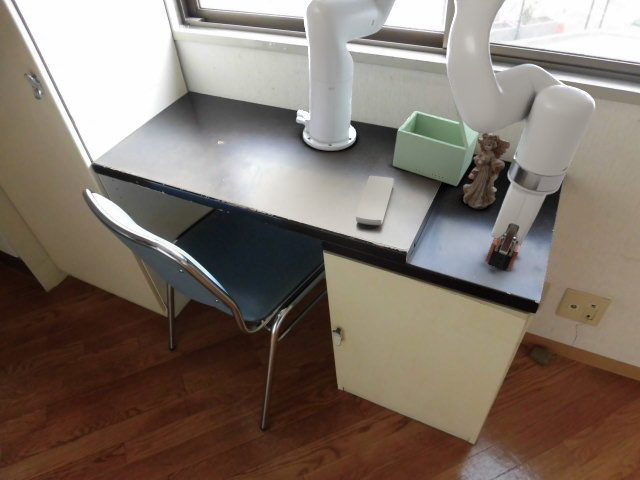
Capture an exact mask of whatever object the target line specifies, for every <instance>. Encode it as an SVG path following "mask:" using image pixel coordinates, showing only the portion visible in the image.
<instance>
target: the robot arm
mask: <svg viewBox="0 0 640 480" xmlns="http://www.w3.org/2000/svg"><path fill="white" fill-rule="evenodd" d="M507 1H508V0H453V2H454V3H453V4H454V15H453V19H452V22H451V25H450V29H449V33H448V38H447V39H448V40H447V46H446V56H445V57H446V58H445V69H446V74H447V75H446V76H447V80H448V83H449V87H450V91H451V94H453V95H452V99H453V98H454V99H453V102H454V101H455V104H456V107H457V109H458V112H459V114H460V116H461V118H462V119H463V121H464V123H465V124H466V125H467V126H468V127H469V128H470V129H472V130H473V131H476V132H478V133H479V134H483V133H492V134H493V133H495V132H498V131H500V130H503V129H504V128H507V127H510V126H511V125H513V124H516V123H521V122H523V123H524V122H525V124H524V127H523V129H522V133H521V135H520V138H519V141H518V143H517V146H516V149H515V151H514V152H515V153H514V155H513V157H512V160H511V163H510V166H509V168H508V171H507V179H508V180H509V182H510V184H509V186H508V189H507V191H506V193H505V196H504V199H503V201H502V204H501V207H500V209H499V212H498V215H497V217H496V221H495V223H494V225H493V228H492V230H491V234H490V235H491V237H492V238H493V239H494V238H497V239H498V238H499V237H500V238H499V240H498V243H497V245H496V246H494V249H493V251H492V254H491V256H490V259H489V262H487V264H488V266H491V267H493V268H496V269H498V270H501V271H503V272H506V271H507V268H508V266H509V264H510V261H511V259H512V257H513V254H514V253H513V251H514V248H515V246H516V244H517V246H518V245H521V244H523V242H524V240H525V238H526V237H527V235H528V233H529V231H530V230H531V227H532V226H533V224H534V222H535V220H536V218H537V216H538V214H539V212H540V210H541V208H542V205H543V203H544V202H545V199H546V197H547V196H549V195H552V194H554V193H556V192H558V191H559V189H560V187H561V185H562V184H563V181H564V178H565V177H566V174H567V172H568V170H569V168H570V166H571V164H572V162H573V160H574V157H575V155H576V153H577V151H578V149H579V147H580V145H581V142H582V140H583V138H584V136H585V134H586V132H587V130H588V127H589V126H590V123H591V121H592V119H593V117H594V114H595V111H596V102H595V100H594V98H593V97H592V96H591V95H590V94H589V93H588V92H586V91H584V90H582V89H580V88H577V87H574V86H570V85H566V84H565V83H563V82H562V81H560V80H559V79H558V78H556V77H554V75H552V74H551V73H550V72H548V71H547V70H545V69H544V68H542V67H540V66H538V65H536V64H532V63H522V64H519V65H516V66H513V67H510V68H508V69H504V70H502V71H498V72H495V70H494V66H493V63H492V58H491V48H490V46H491V45H490V43H491V36H492V35H491V33H492V30H493V26H494V23H495V21H496V18H497V16H498V15H499V12H501V9H502V8H503V7H504V5H505V4H506V3H507ZM395 2H396V0H309V1H308V3H307V4H306V7H305V9H304V12H303V23H304V28H305V34H306V39H307V47H308V74H309V75H308V76H309V79H308V81H309V88H308V89H309V90H308V91H309V92H308V95H309V99H308V100H309V103H308V104H309V107H308V109H309V111H308V112H307V111H304V110H302V109H298V110H297V112H296V119H295V123H298V124H300V125H303V126H305V127H304V128H303V130H302V139H303V141H304V142H305V143H306V144H307V145H308V146H310V147H312V148H314V149H316V150H321V151H329V152H331V151H332V152H333V151H340V150H344V149H346V148H349V147H350V146H352V145H353V144H354V143H355V142H356V138H357V132H356V129H355V128H354V126H352V124H351V121H352V120H351V117H352V104H353V89H354V87H353V86H354V73H355V72H354V70H355V64H354V59H353V56H352V55H351V53H350V51H349V50H348V47H347V43H349V42H352V41H355V40H357V39H361V38H365V37H369V36H372V35H374V34H376V33H378V32H379V31H380V30H381V29H382V28H383V27H384V26H385V24H386V22H387V20H388V18H389V16H390V15H391V14H390V13H391V11H392V9H393V7H394V4H395ZM455 104H454V105H455ZM504 233H507V234H504ZM514 236H516V237H514ZM502 240H504V241H503V243H502V244H501V242H502ZM511 243H513V244H512V247H511V248H510V246H511ZM500 244H501V245H500ZM521 246H522V245H521Z"/></svg>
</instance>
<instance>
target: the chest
mask: <svg viewBox="0 0 640 480" xmlns="http://www.w3.org/2000/svg"><path fill="white" fill-rule="evenodd" d="M479 134H480V133H478V134H477V136H476V137H475V139H474V140H473V142H472V144H471V145H470V147H469V148H465V147H464V143H463V138H462V134H461V130H460V125H459V121H455V120H451V119H448V118H444V117H441V116H437V115H433V114H429V113H426V112H422V111H418V110H414V111H413V112H412V114H411V115H410V116H409V117H408V118H407V119H406V120H405V121H404V123H402V125H401V126H400V127H399V128H398V129H397V132H396V137H395V138H396V139H395V145H394V153H393V159H392V167H395V168H398V169H401V170H405V171H407V172H410V173H414V174H417V175H420V176H423V177H426V178H429V179H433V180H436V181H438V182H442V183H446V184H449V185H451V186H454V187H457V186H458V185H459V183H460V182H461V180H462V179H463V177H464V175H465V174H466V172H467V170H468V168H469V166H470V165H471V163H472V161H473V156H474V154H475V153H474V152H475V148H476V145H477V143H478V140H477V138H478V137H479V136H480V135H479ZM416 169H417V170H416ZM419 170H420V171H419ZM432 174H433V175H432ZM435 175H436V176H435ZM439 176H440V177H439ZM442 177H443V178H442Z"/></svg>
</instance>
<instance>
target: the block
mask: <svg viewBox="0 0 640 480" xmlns="http://www.w3.org/2000/svg"><path fill="white" fill-rule="evenodd" d="M504 234H507V233H504ZM514 237H516V236H514ZM499 238H500V237H499ZM499 238H498V239H497V238H493V239H492V242H491V243H490V246H489V250H488V252H487V255H486V257H485V260H484V262H486V263H488V262H489V259H490V256H491V254H492V251H493V249H494V246H496V245H497V243H498V240H499ZM503 241H504V240H502V242H501V244H502V243H503ZM501 244H500V245H501ZM512 244H513V243H511V246H510V248H511V247H512ZM522 244H523V243H522ZM522 244H521V245H518V246H517V244H516V246H515V248H514V251H513V253H514V254H513V257H512V259H511V261H510V264H509V266H508V268H507V270H508V271H512V268H513V266H514V264H515V261H516V260H517V257H518V255H519V253H520V250H521V248H522ZM507 270H506V271H507Z"/></svg>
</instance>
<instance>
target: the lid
mask: <svg viewBox="0 0 640 480" xmlns="http://www.w3.org/2000/svg"><path fill="white" fill-rule="evenodd" d="M451 94H452V93H451ZM452 96H453V94H452ZM452 100H453V103H454V108H455V112H456V117H457V120H458V121H457V122H459V125H460V130H461V134H462V138H463V143H464V147H465V148H469V147H470V145H471V144H472V142H473V140H474V139H475V137H476V136H477V134H478V132H476V131H473V130H472V129H470V128H469V127H468V126H467V125H466V124H465V123H464V121H463V119H462V118H461V116H460V114H459V112H458V109H457V107H456V104H455V101H454V98H453V97H452Z"/></svg>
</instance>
